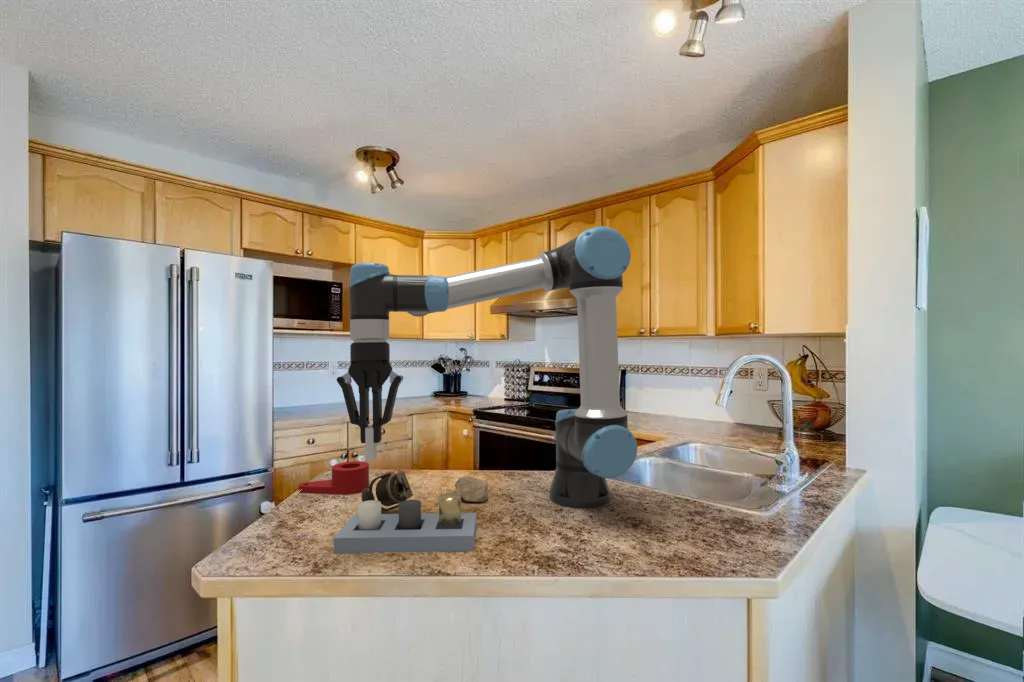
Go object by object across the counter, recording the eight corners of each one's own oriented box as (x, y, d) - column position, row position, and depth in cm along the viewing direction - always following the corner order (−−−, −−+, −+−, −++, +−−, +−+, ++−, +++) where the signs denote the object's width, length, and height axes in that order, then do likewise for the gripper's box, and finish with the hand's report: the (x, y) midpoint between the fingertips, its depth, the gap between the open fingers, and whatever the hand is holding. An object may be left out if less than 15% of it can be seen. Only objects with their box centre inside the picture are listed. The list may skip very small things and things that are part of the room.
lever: (371, 484, 131) (371, 460, 131) (365, 495, 122) (365, 469, 122) (304, 487, 129) (304, 463, 129) (292, 498, 120) (292, 472, 120)
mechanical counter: (401, 522, 103) (401, 476, 103) (348, 518, 105) (348, 473, 105) (415, 510, 110) (414, 468, 110) (365, 507, 112) (364, 465, 112)
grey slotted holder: (476, 526, 100) (476, 512, 100) (473, 551, 88) (473, 535, 88) (354, 528, 99) (354, 514, 99) (334, 554, 87) (333, 538, 87)
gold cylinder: (461, 517, 96) (461, 492, 96) (460, 525, 92) (459, 499, 92) (440, 517, 96) (440, 493, 96) (437, 525, 92) (437, 500, 92)
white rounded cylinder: (383, 524, 96) (383, 500, 96) (378, 533, 91) (377, 507, 91) (362, 524, 96) (361, 500, 96) (355, 533, 91) (355, 508, 91)
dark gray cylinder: (422, 523, 96) (422, 499, 96) (419, 532, 92) (418, 507, 92) (401, 524, 96) (401, 499, 96) (396, 533, 91) (396, 507, 91)
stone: (486, 492, 124) (487, 475, 125) (487, 503, 114) (489, 485, 114) (454, 490, 124) (456, 472, 124) (453, 501, 113) (455, 482, 113)
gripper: (406, 341, 98) (407, 454, 97) (343, 341, 97) (344, 455, 97) (398, 341, 90) (399, 463, 90) (330, 341, 90) (331, 464, 90)
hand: (371, 459), depth 94 cm, fingers closed
